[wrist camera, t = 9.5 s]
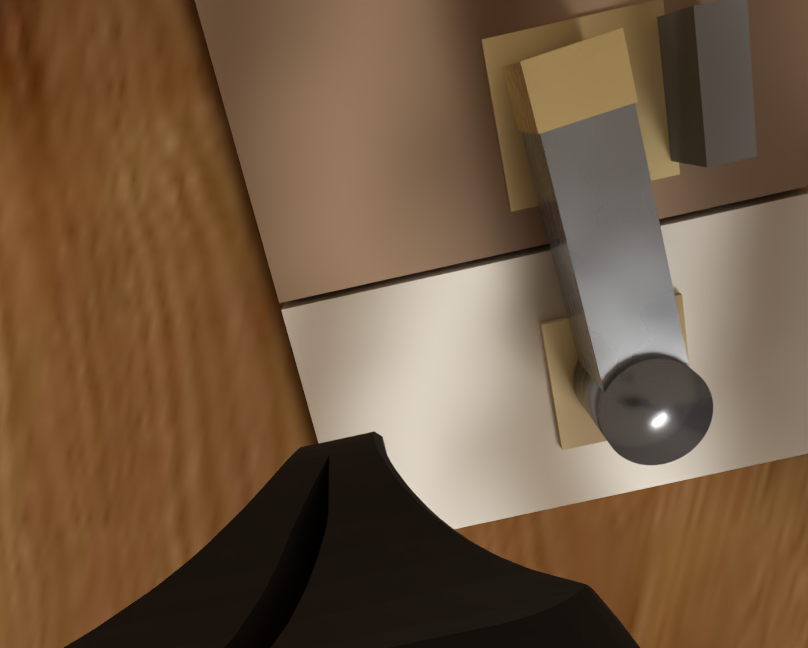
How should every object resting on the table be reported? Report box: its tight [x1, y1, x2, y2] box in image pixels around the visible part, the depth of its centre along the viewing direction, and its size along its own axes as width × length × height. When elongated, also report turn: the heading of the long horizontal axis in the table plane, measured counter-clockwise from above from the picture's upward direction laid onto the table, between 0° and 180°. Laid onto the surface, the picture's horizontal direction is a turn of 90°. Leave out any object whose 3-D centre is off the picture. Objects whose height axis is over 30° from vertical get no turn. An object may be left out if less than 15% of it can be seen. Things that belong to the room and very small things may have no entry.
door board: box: [195, 0, 808, 529], centre depth 19 cm, size 15×17×3 cm
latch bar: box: [502, 28, 713, 465], centre depth 18 cm, size 10×3×3 cm, turn 17°
